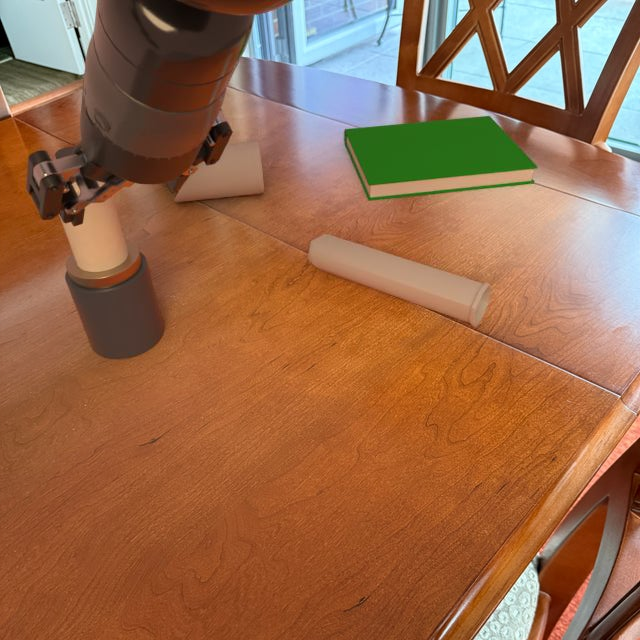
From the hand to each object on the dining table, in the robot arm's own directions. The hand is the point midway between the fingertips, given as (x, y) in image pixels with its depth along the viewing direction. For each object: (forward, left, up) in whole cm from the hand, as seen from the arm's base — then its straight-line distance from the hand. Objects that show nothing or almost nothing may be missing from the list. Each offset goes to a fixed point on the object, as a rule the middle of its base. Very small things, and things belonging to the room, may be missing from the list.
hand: (122, 197), depth 50 cm
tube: (+31, 0, -25) cm, 40 cm away
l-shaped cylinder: (+26, +42, -25) cm, 55 cm away
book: (+62, +23, -25) cm, 71 cm away
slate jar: (0, +14, -25) cm, 28 cm away
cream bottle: (0, +14, -13) cm, 19 cm away
